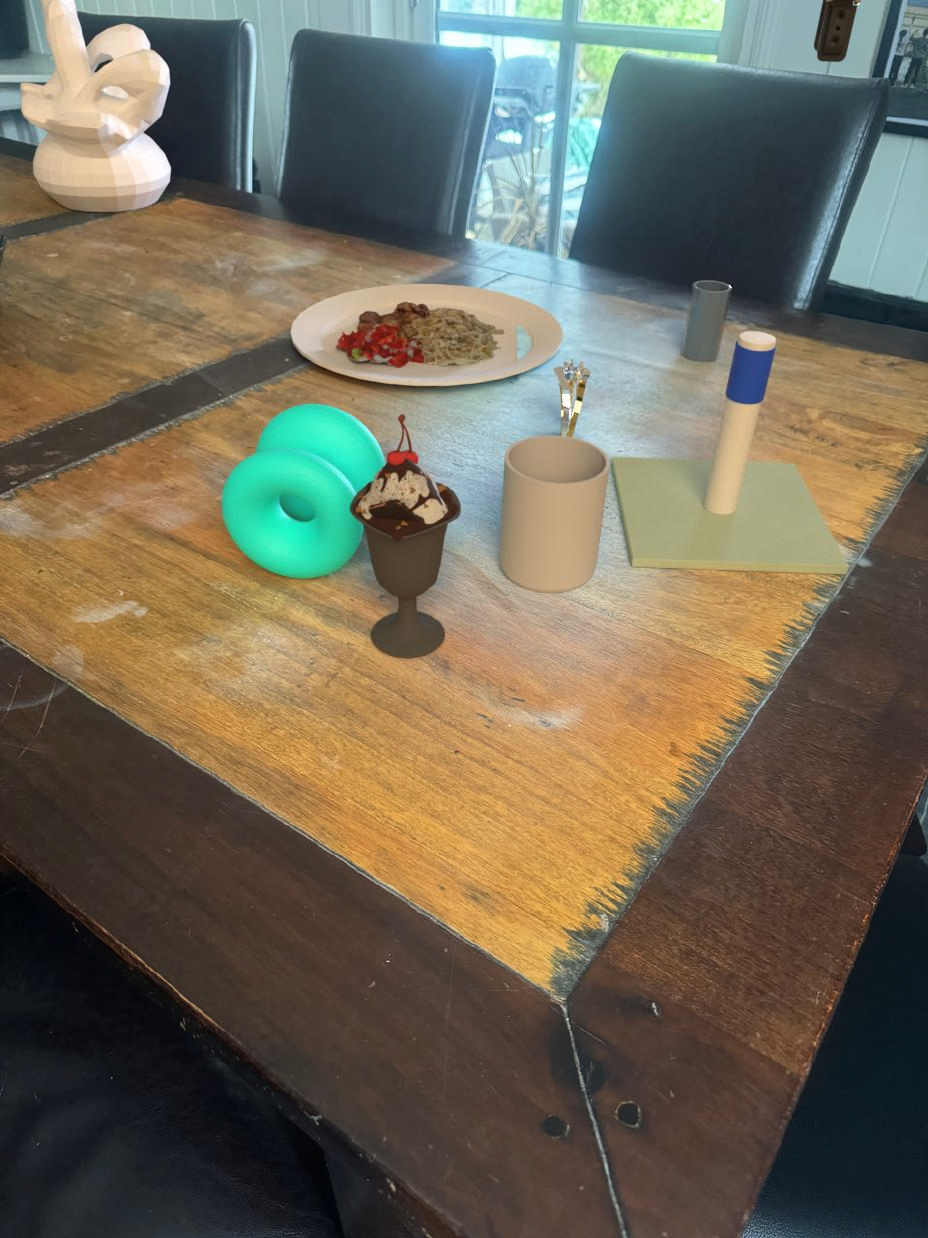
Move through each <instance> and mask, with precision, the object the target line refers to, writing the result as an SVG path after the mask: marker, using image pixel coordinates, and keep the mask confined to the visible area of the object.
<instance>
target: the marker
mask: <svg viewBox="0 0 928 1238" xmlns="http://www.w3.org/2000/svg"><path fill="white" fill-rule="evenodd" d="M776 343H777V338H776V337H775V336H774V335H773V334H770V333H767V332H763V331H757V330H749V331H743V332H740V333H739V335H738V338H737V340H736V341H735V345H734V350H733V354H732V359H731V365H730V369H729V374H728V379H727V384H726V387H725V398H724V399H725V400H724V404H723V408H722V414H721V418H720V423H719V428H718V432H717V437H716V443H715V446H714V451H713V456H712V460H711V461H712V465H711V470H710V475H709V480H708V484H707V489H706V494H705V499H704V503H703V505H704V507H705V509H707V510H708V511H710V512H712V513H715V514H720V515H728V514H732V513H733V512H735V510H736V507H737V503H738V499H739V495H740V491H741V486H742V482H743V478H744V474H745V470H746V465H747V462H749V461H748V460H749V456H750V454H751V453H750V452H751V448H752V444H753V439H754V436H755V431H756V427H757V423H758V419H759V414H760V411H761V407H762V403H763V401H764V400H765V395H766V391H767V388H768V383H769V378H770V374H771V369H772V365H773V362H774V359H775V358H774V357H775V353H776V350H777V346H776Z"/></svg>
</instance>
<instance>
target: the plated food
mask: <svg viewBox="0 0 928 1238" xmlns="http://www.w3.org/2000/svg"><path fill="white" fill-rule="evenodd" d="M517 326H519V327H520V328H521V329H523V330H524V332H526V334H527V335H528V337H529V341H530V347H529V350H528V352H527V353H526V354H525V355H523V357H521V358H520V359H519V358H518V337H517V336H518V335H517V333H518V332H517V331H518V330H517ZM289 332H290V337H291V341H292V345H293V347H295V349H296V350H297V351H298V353H300V355H302V357H305V358H306V359H307V360H309V361H311V362H312V363H314V364H316V365H317V366H320V367H322V368H324V369H327V370H329V371H331V372H334V373H337V374H341V375H343V376H347V377H351V378H355V379H359V380H364V381H370V382H375V383H382V384H389V385H399V386H400V385H401V386H414V387H433V386H435V387H448V386H449V387H450V386H460V385H461V386H462V385H472V384H473V385H474V384H480V383H485V382H486V383H487V382H491V381H496V380H497V381H498V380H501V379H506V378H508V377H512V376H515V375H519V374H522V373H525V372H528V371H531V370H532V369H534V368H536V367H540V366H541V365H543V364H544V363H546V362H547V361H549V360H550V359H551V358H553V356H555V355H556V353H557V352H558V351H559V349H560V348H561V347H562V341H563V335H564V332H563V329H562V326H561V324H560V322H559V321H558V320H557V319H556V318H555V317H554V316H553V315H552V313H550V312H549V311H547V310H545V309H544V308H542V307H541V306H539V305H537V304H535V303H532V302H530V301H529V300H525V299H523V298H520V297H517V296H513V295H511V294H508V293H504V292H499V291H496V290H490V289H487V288H482V287H481V288H480V287H472V286H465V285H457V284H456V285H455V284H444V283H443V284H441V283H406V284H405V283H404V284H389V285H388V284H387V285H382V286H374V287H365V288H361V289H356V290H351V291H347V292H343V293H339V294H337V295H333V296H330V297H326V298H325V299H322V300H320V301H318V302H315V303H314V304H312V305H310V306H309V307H306V309H305V310H303V311H301V312H300V313H299V314H298V315H297V317H296V318H295V319H294V320H293V321H292V325H291V328H290V331H289Z"/></svg>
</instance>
